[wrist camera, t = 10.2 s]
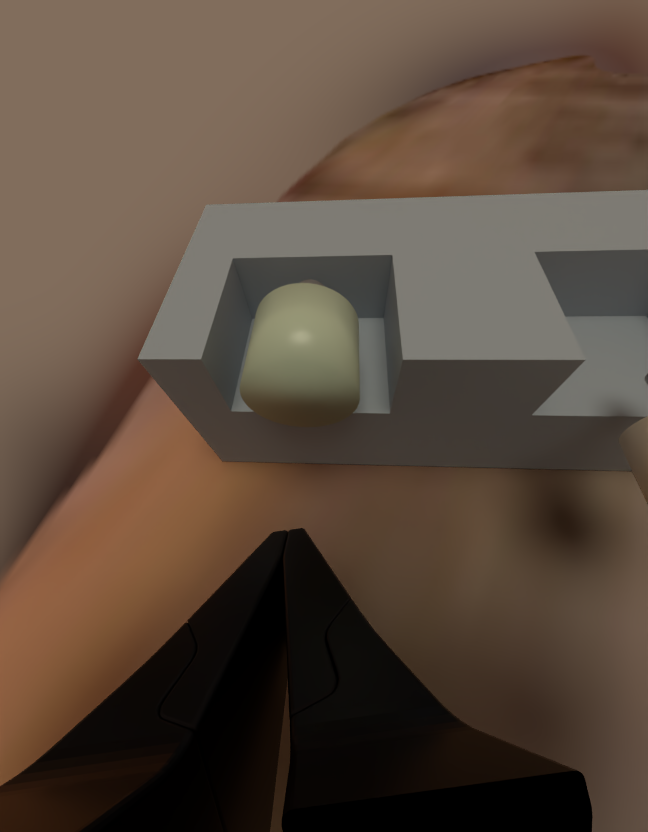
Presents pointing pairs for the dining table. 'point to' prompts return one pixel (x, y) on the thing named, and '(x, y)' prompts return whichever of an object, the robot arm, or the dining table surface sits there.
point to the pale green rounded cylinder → (303, 357)
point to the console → (427, 327)
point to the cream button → (637, 451)
